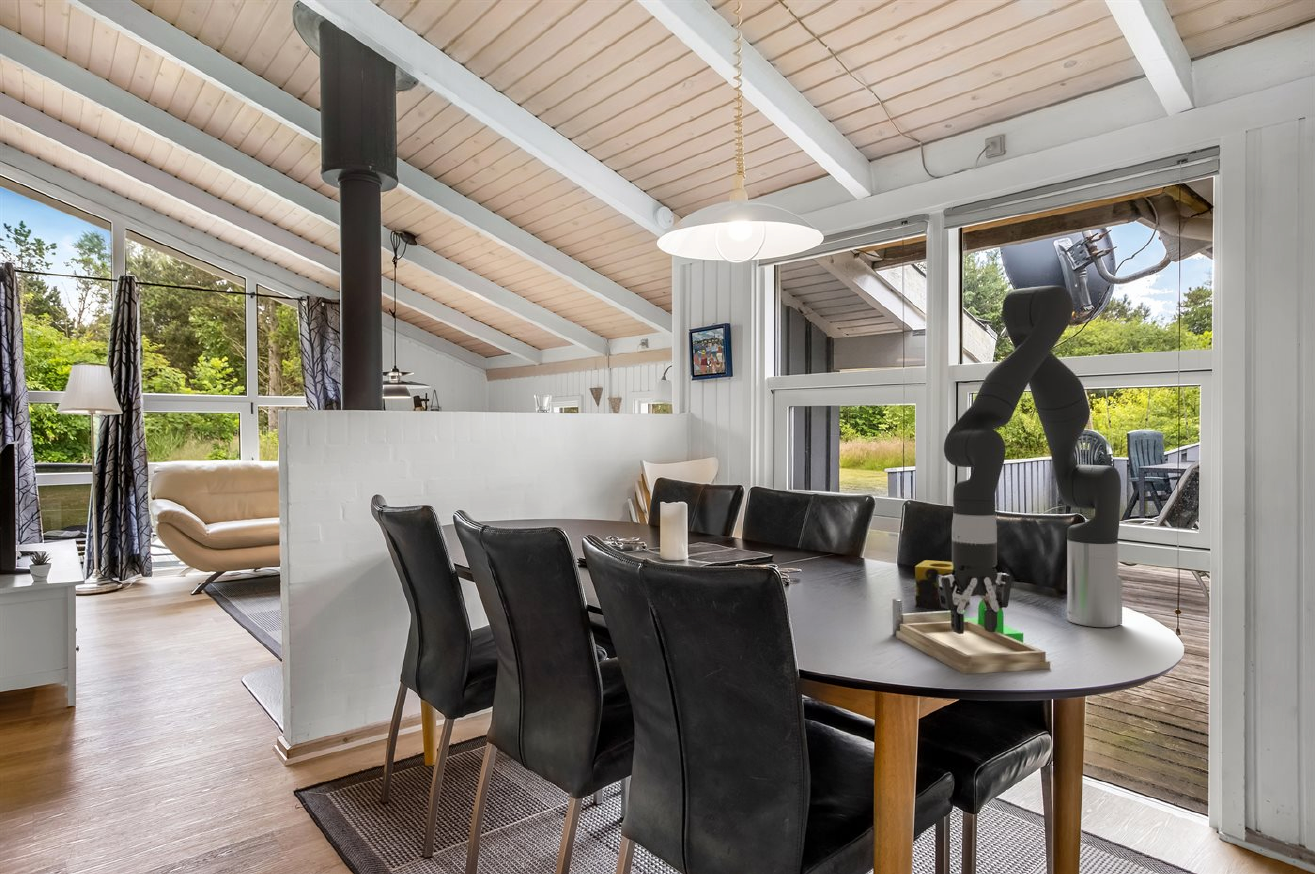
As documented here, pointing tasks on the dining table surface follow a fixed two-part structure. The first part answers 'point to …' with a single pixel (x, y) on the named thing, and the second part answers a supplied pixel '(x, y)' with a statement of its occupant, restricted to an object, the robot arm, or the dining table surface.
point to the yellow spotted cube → (931, 583)
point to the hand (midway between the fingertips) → (974, 631)
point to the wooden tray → (972, 648)
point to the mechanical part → (1000, 623)
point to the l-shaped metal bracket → (917, 616)
